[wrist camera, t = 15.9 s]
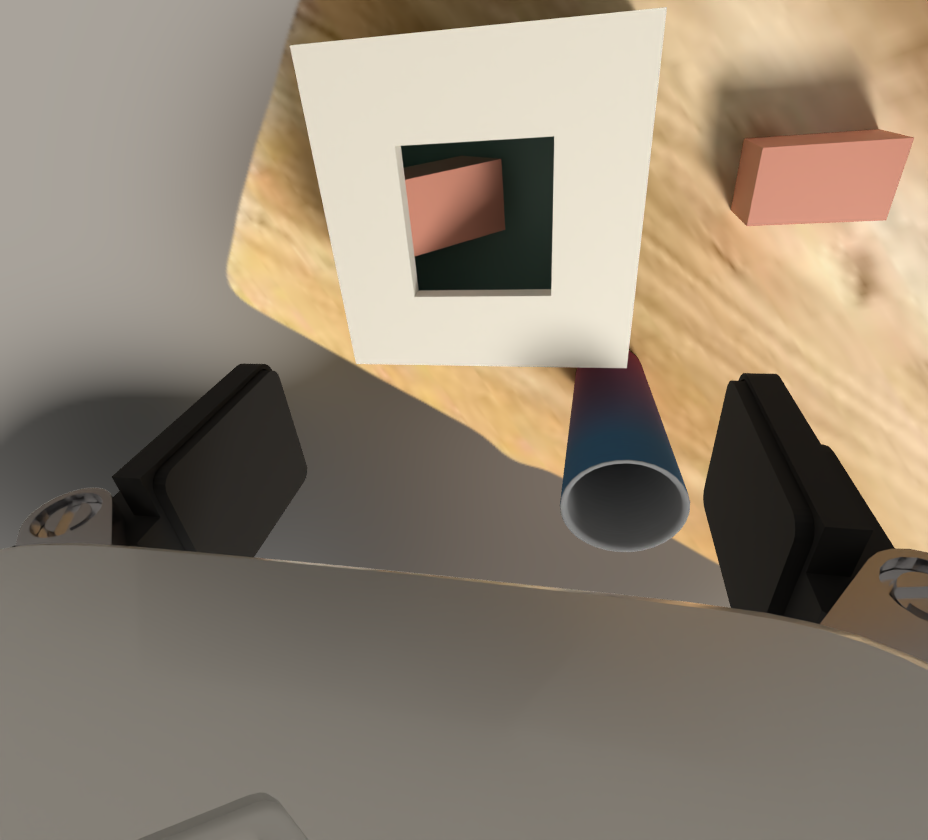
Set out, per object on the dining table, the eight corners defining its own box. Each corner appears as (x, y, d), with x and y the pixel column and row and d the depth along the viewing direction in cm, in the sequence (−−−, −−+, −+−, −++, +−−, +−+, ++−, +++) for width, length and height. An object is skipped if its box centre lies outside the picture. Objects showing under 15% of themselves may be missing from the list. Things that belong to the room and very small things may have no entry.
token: (877, 128, 30) (914, 137, 27) (854, 203, 32) (886, 220, 29) (743, 138, 31) (763, 147, 28) (730, 209, 33) (747, 225, 30)
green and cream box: (640, 21, 29) (666, 7, 21) (615, 301, 38) (626, 368, 30) (362, 48, 32) (289, 45, 24) (399, 302, 41) (356, 363, 32)
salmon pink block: (501, 158, 31) (397, 181, 28) (505, 229, 33) (409, 258, 30) (461, 155, 34) (363, 176, 30) (467, 221, 36) (376, 246, 33)
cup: (556, 343, 40) (549, 467, 28) (650, 326, 38) (686, 452, 26) (572, 416, 44) (571, 555, 32) (658, 405, 42) (693, 548, 30)
